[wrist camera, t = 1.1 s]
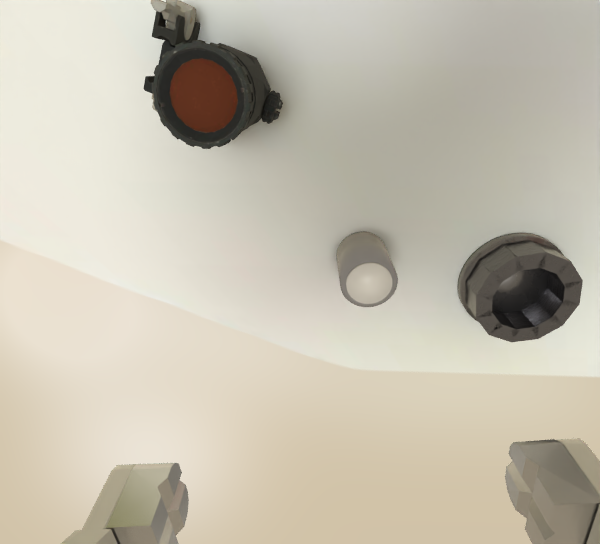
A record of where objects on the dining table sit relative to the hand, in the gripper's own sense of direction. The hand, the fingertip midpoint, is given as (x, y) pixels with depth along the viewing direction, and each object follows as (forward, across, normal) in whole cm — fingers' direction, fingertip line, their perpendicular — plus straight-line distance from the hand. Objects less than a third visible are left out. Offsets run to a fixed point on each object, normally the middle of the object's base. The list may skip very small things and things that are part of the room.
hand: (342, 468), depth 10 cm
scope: (+31, +6, -9) cm, 33 cm away
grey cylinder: (+31, -4, +8) cm, 32 cm away
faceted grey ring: (+31, -19, +12) cm, 38 cm away
